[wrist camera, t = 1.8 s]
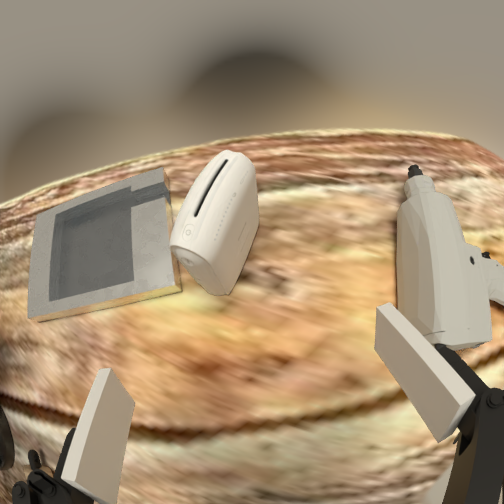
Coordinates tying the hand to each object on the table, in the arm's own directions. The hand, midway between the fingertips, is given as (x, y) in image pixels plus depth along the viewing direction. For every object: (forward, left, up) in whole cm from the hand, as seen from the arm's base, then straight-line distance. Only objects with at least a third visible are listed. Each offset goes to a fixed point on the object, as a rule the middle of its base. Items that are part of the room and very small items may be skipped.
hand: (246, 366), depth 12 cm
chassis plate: (-17, +17, -15) cm, 29 cm away
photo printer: (0, +12, -15) cm, 20 cm away
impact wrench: (+29, +3, -16) cm, 33 cm away
